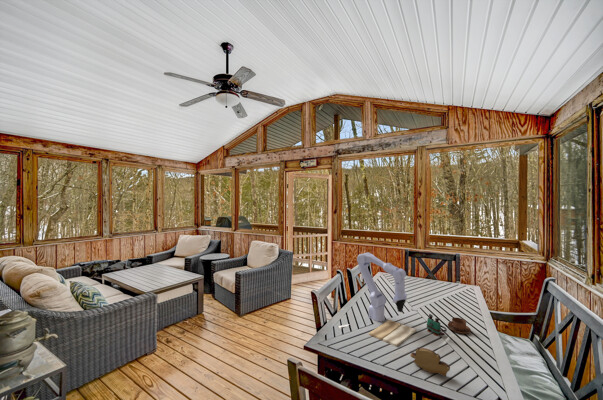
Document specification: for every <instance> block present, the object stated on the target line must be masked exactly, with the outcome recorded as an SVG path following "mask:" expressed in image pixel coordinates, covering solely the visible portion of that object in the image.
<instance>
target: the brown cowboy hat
mask: <svg viewBox="0 0 603 400" xmlns="http://www.w3.org/2000/svg"><path fill="white" fill-rule="evenodd" d="M447 327H448V328H449V329H450V330H451V331H453V332H455V333H457V334H464V335H465V334H469V333H471V331H472V329H471V328H470V327H469V326H468V325H467V320H466V319H465V318H464V319H463V318H461V317H452V319H451V320H449V322H448V324H447Z"/></svg>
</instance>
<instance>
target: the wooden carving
mask: <svg viewBox="0 0 603 400" xmlns="http://www.w3.org/2000/svg"><path fill="white" fill-rule="evenodd" d="M409 356H410V357H411V358H412V359H414V360H413V363H414V364H415V365H416V366H418V367H419V368H420V369H422V370H424V371H426V372H428V373H430V374H431V373H432V374H439V375H441V376H443V377H446V376H447V374H448V372H450V370H451V366H450V365H449V364H448V363H446V362H445V361H444V360H443V361H442V360H441V355H440V354H439V353H436V352H435V351H433V350H431V349H428V348H425V347H417V348H416V350H415V352H414V351H413V352H411V353H410V355H409Z"/></svg>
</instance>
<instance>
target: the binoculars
mask: <svg viewBox="0 0 603 400" xmlns="http://www.w3.org/2000/svg"><path fill="white" fill-rule="evenodd" d="M433 318H434V315H433V314H431V313H429V314H428V318H427V321H426V328H427V330H426V332H428V333H432V332H433V333H432V334H433V335H434V336H436V337H439V336H444V335H445V332H447V331H448V330H447V329H448V328H446V326H443V325H441V322H440V318H439V317H438V318H434V319H433ZM433 335H432V336H433Z"/></svg>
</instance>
